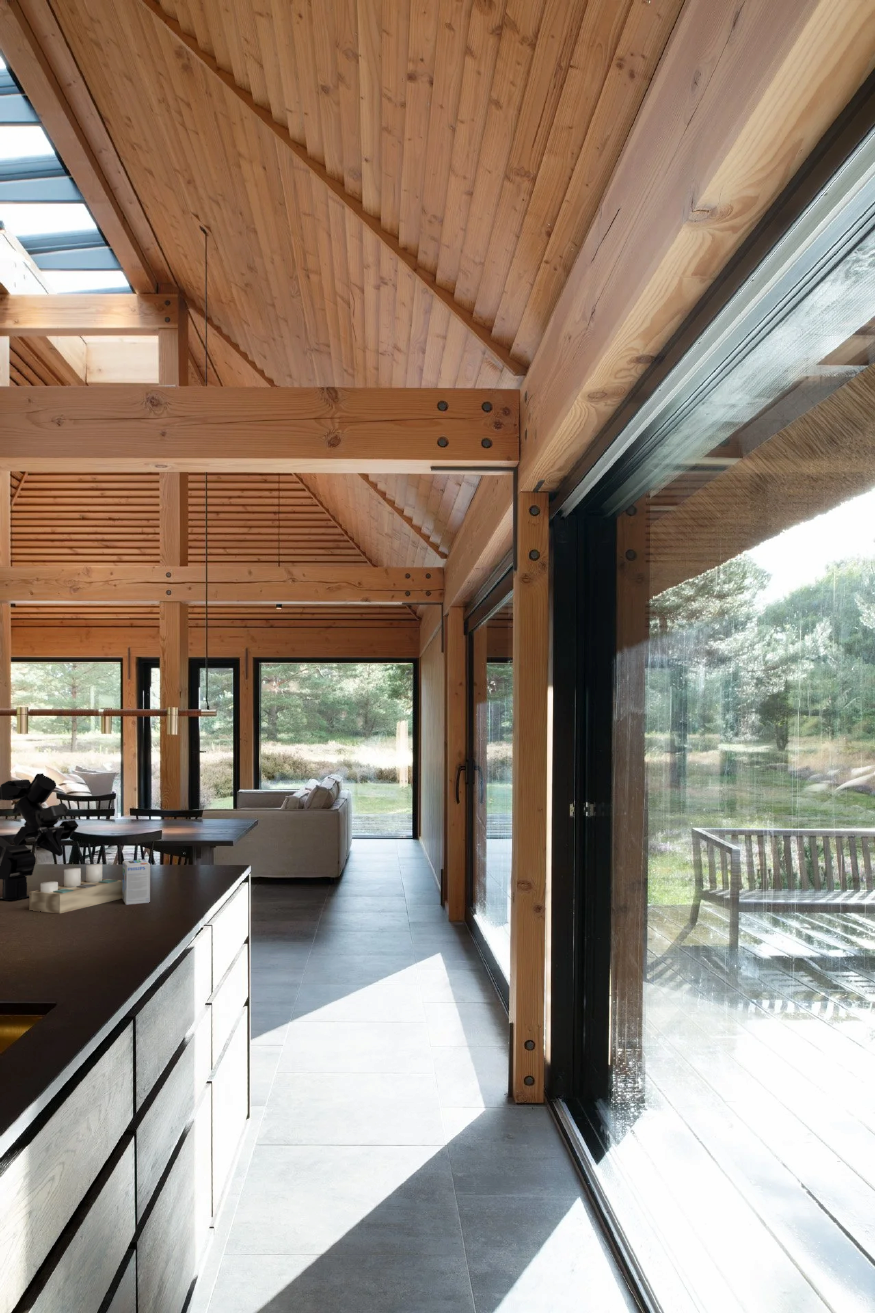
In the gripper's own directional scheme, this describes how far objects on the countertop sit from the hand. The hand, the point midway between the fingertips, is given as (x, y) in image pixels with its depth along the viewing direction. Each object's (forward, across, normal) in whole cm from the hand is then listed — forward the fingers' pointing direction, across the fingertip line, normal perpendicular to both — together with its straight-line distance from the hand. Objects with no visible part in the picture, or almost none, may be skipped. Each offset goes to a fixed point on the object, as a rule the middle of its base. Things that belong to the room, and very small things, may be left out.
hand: (61, 855), depth 262 cm
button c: (+10, +9, +5) cm, 15 cm away
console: (+13, +1, +6) cm, 15 cm away
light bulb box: (+22, +11, -3) cm, 25 cm away
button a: (+12, -7, +7) cm, 15 cm away
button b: (+10, +1, +5) cm, 12 cm away
